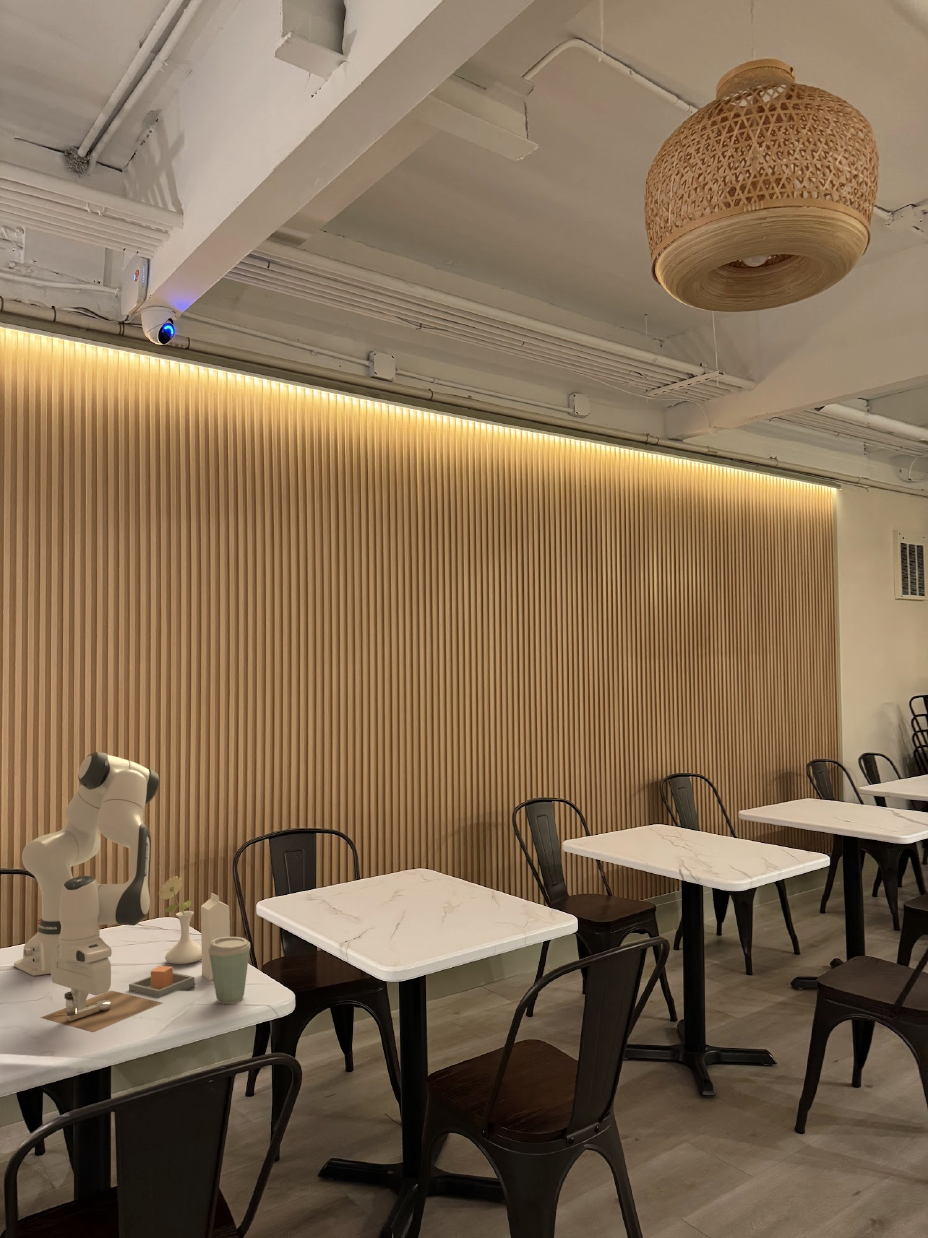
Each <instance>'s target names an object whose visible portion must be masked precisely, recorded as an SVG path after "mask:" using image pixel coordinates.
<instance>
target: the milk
mask: <svg viewBox="0 0 928 1238" xmlns="http://www.w3.org/2000/svg"><path fill="white" fill-rule="evenodd" d="M230 923H231V922H230V906H229V905H227V904H225V903H224V902H221V901H220V896H219V895H216V894H215V893H212V892H211V893H210V898H209V899H208V900H206V902H204V903H203V904H202V905H201V906H200V925H201V926H200V928H201V929H200V931H201V934H200V935H201V938H200V939H201V947H202V959H201V975H202V976H203V977H204V978H206V979H207V980H209V981H212V980H213V973H212V967H211V961H210V955H209V953H208V950H209V946H210V943H211V941H212V940H214V939H216V938H221V937H231V936H230V935H231V933H230V932H231V931H230V926H231V925H230ZM213 981H214V980H213Z"/></svg>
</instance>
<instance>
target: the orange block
mask: <svg viewBox="0 0 928 1238" xmlns="http://www.w3.org/2000/svg"><path fill="white" fill-rule="evenodd" d="M173 973H174V967H173V966H167V965H166V966H163V965H162V966H161V965H158V966H157V967H155V968H153V969H152V970H151V971H150V976H151V988H154V989H159V990H160V989H162V988H165V987H167V986H170V985H172V984H173Z"/></svg>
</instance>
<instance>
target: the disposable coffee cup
mask: <svg viewBox="0 0 928 1238" xmlns="http://www.w3.org/2000/svg"><path fill="white" fill-rule="evenodd" d="M250 949H251V942H250V941H248V939H246V938H245V937H239V936H230V937H221V938H216V939H214V940H212V941H211V943H210V946H209V950H208V953H209V955H210V961H211V967H212V973H213V985H214V991H215V996H216V999H217V1002H218V1003H219V1004H224V1005H230V1004H231V1005H232V1004H235V1003H239V1002H241V1001H242V1000H243V998H244V995H245V989H246V982H247V981H246V980H247V974H248V965H249V956H250Z"/></svg>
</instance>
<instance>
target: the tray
mask: <svg viewBox="0 0 928 1238" xmlns="http://www.w3.org/2000/svg"><path fill="white" fill-rule="evenodd" d="M195 980H196V979H195V976H192V975H187V974H183V973H178V972H173V984H172V985H170V986H167V987H165V988H162V989H160V990H159V989H154V988H151V975H150V976H148V977H145V978H143V979H142V978H141V979H139V980H137V981H134V982H131V983H129V984H128V990H129V991H130V992H135V993H139V994H143V995H147V996H152V997H155V998H160V997H161V998H162V997H163V996H166V995H168V994H171V993H173V992H177V991H178V992H189V991H193V990H195V988H196V986H195Z"/></svg>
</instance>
